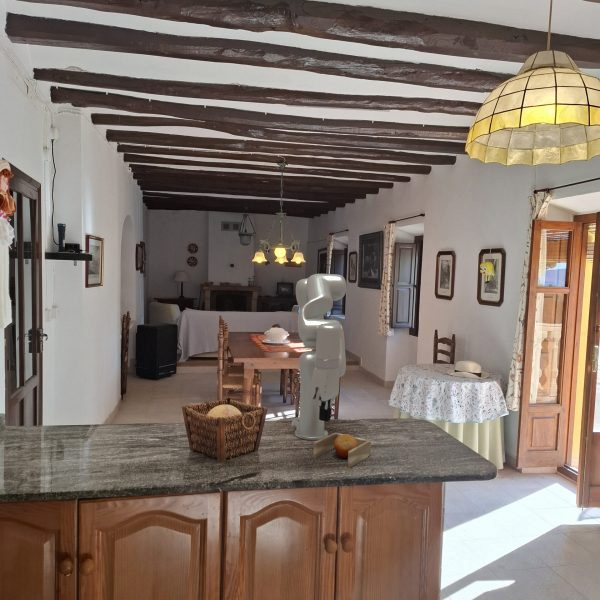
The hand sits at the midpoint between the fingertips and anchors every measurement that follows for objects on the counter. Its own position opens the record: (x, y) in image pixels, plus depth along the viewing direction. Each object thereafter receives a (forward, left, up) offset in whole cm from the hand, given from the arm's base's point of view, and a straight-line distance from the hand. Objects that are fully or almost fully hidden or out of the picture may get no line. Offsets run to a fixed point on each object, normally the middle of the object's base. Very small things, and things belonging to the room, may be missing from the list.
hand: (324, 420), depth 161 cm
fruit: (+1, +12, -15) cm, 19 cm away
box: (+1, +11, -15) cm, 19 cm away
